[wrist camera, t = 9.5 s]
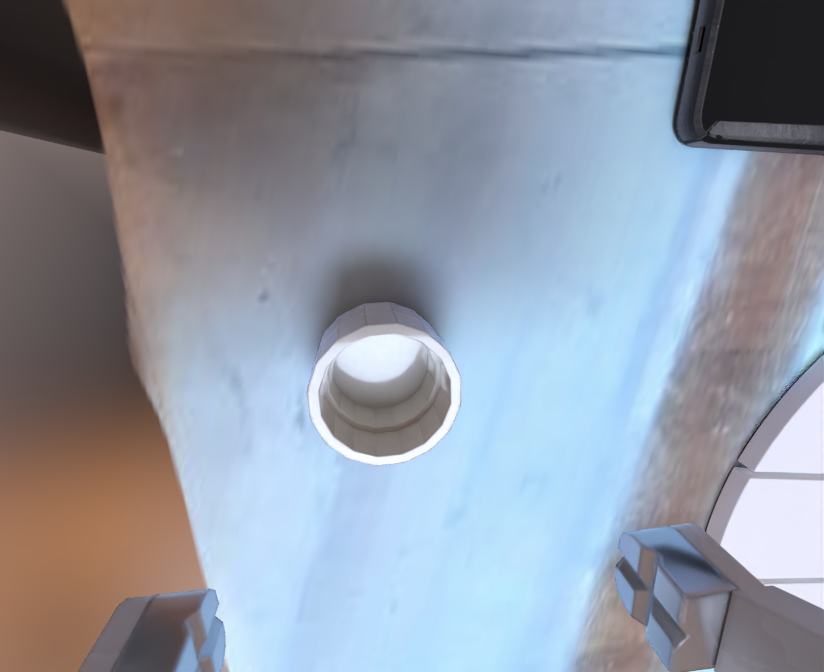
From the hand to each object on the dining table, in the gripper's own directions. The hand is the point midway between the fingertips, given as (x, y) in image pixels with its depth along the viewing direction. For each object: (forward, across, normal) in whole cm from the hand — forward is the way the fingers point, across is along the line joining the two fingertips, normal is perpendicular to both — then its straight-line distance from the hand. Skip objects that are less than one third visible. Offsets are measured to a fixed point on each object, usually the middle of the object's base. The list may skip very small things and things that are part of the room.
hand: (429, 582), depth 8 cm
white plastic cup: (+13, 0, 0) cm, 13 cm away
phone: (+13, -22, -13) cm, 29 cm away
